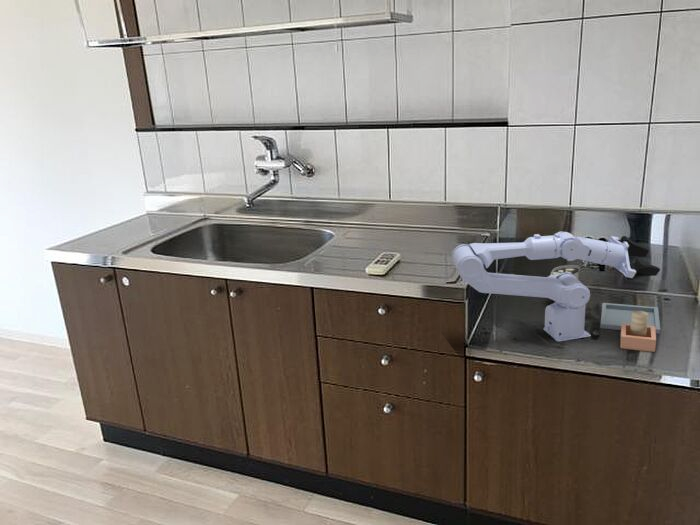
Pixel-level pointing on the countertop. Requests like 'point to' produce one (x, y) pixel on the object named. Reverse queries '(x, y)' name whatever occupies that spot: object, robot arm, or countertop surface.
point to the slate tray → (626, 315)
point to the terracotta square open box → (638, 339)
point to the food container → (566, 268)
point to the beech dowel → (639, 323)
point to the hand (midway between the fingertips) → (652, 262)
